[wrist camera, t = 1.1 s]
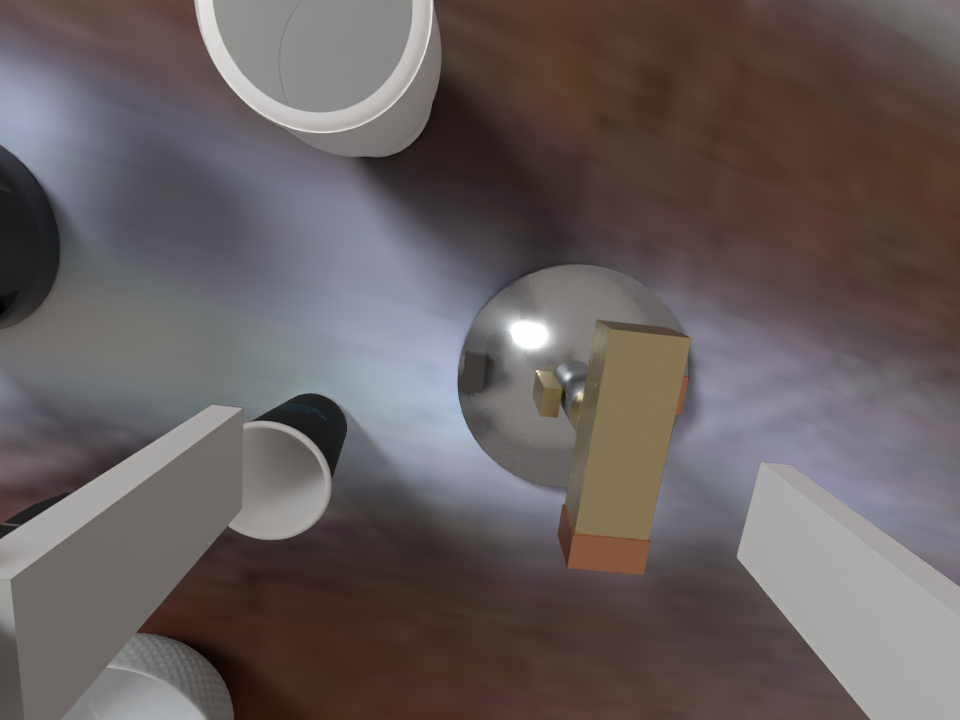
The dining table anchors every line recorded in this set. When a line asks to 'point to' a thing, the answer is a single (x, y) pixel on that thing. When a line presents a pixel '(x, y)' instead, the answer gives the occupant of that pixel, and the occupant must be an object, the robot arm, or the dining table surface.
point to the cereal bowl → (155, 685)
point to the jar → (330, 67)
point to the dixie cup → (289, 466)
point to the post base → (543, 360)
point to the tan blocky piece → (617, 442)
